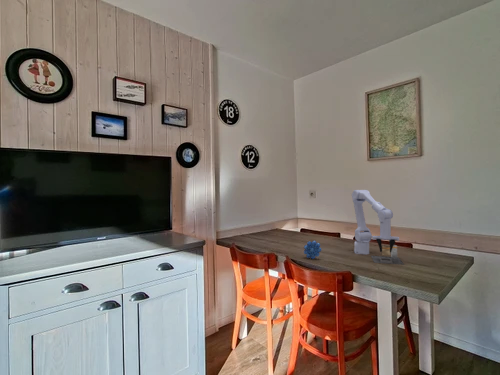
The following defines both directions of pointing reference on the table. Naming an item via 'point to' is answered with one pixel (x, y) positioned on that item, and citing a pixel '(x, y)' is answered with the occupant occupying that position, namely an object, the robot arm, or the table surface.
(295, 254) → the table surface
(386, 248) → the taped cardboard box
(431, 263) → the table surface
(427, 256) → the table surface
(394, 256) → the post
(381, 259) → the base board
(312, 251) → the grapes
